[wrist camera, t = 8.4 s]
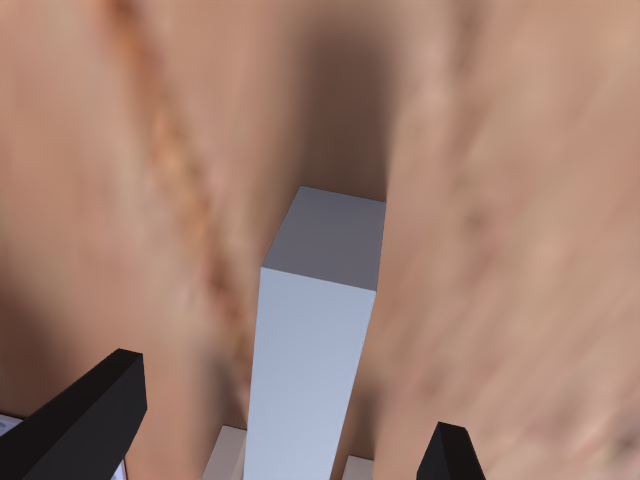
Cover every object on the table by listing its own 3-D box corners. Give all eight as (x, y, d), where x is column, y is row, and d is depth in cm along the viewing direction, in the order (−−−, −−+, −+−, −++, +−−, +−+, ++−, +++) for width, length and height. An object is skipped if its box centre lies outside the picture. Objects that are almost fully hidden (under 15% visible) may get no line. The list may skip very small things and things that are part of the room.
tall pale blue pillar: (276, 384, 26) (242, 490, 21) (301, 184, 19) (261, 266, 14) (339, 399, 25) (321, 510, 20) (386, 201, 19) (376, 291, 14)
